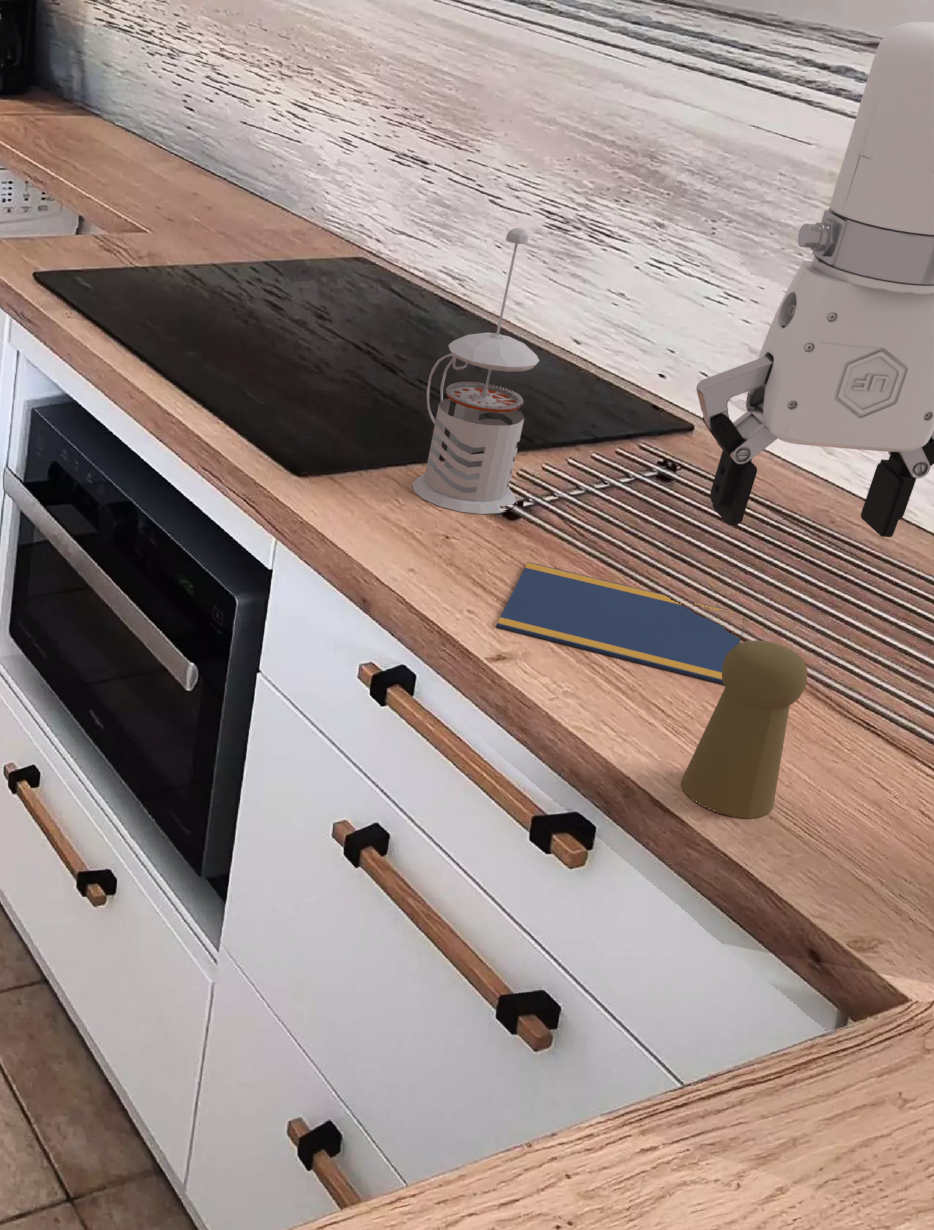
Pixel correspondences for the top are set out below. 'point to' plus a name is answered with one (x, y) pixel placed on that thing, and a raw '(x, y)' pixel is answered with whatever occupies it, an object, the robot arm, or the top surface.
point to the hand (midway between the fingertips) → (800, 522)
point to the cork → (746, 731)
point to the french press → (477, 423)
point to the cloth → (616, 622)
